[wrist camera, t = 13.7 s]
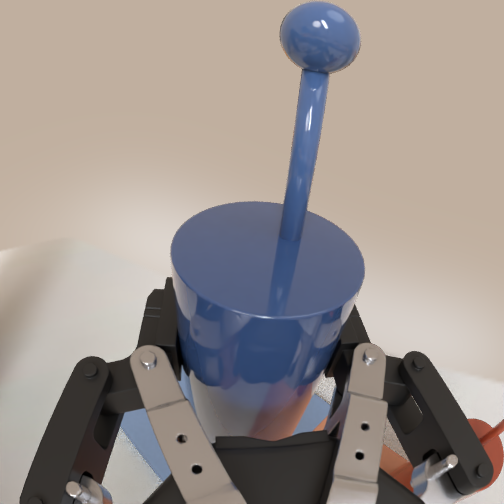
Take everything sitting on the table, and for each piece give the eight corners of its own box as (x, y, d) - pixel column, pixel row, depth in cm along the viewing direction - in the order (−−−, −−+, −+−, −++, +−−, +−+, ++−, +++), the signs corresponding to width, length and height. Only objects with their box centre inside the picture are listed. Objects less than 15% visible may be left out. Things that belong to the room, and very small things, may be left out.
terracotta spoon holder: (410, 531, 16) (569, 457, 6) (365, 502, 19) (504, 412, 9) (440, 484, 19) (576, 381, 9) (398, 456, 22) (519, 339, 12)
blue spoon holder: (242, 479, 12) (350, -62, 2) (167, 401, 15) (129, -9, 5) (320, 409, 15) (452, 37, 5) (246, 349, 18) (286, 13, 8)
